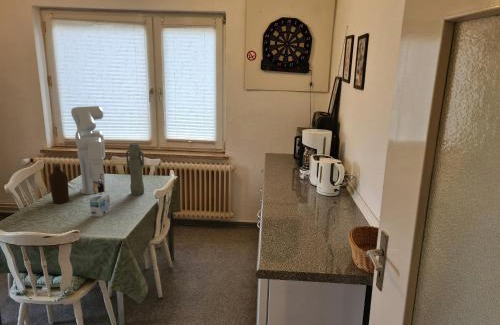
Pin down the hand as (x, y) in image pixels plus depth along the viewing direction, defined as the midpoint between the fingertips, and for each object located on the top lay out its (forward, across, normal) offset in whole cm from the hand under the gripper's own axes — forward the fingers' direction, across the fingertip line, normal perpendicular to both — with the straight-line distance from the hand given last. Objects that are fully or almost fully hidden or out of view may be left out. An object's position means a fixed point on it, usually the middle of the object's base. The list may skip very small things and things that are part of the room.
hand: (98, 190), depth 218 cm
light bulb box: (+15, 0, 0) cm, 15 cm away
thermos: (+14, -16, +34) cm, 40 cm away
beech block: (+1, 0, 0) cm, 1 cm away
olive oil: (+14, -37, -9) cm, 41 cm away
